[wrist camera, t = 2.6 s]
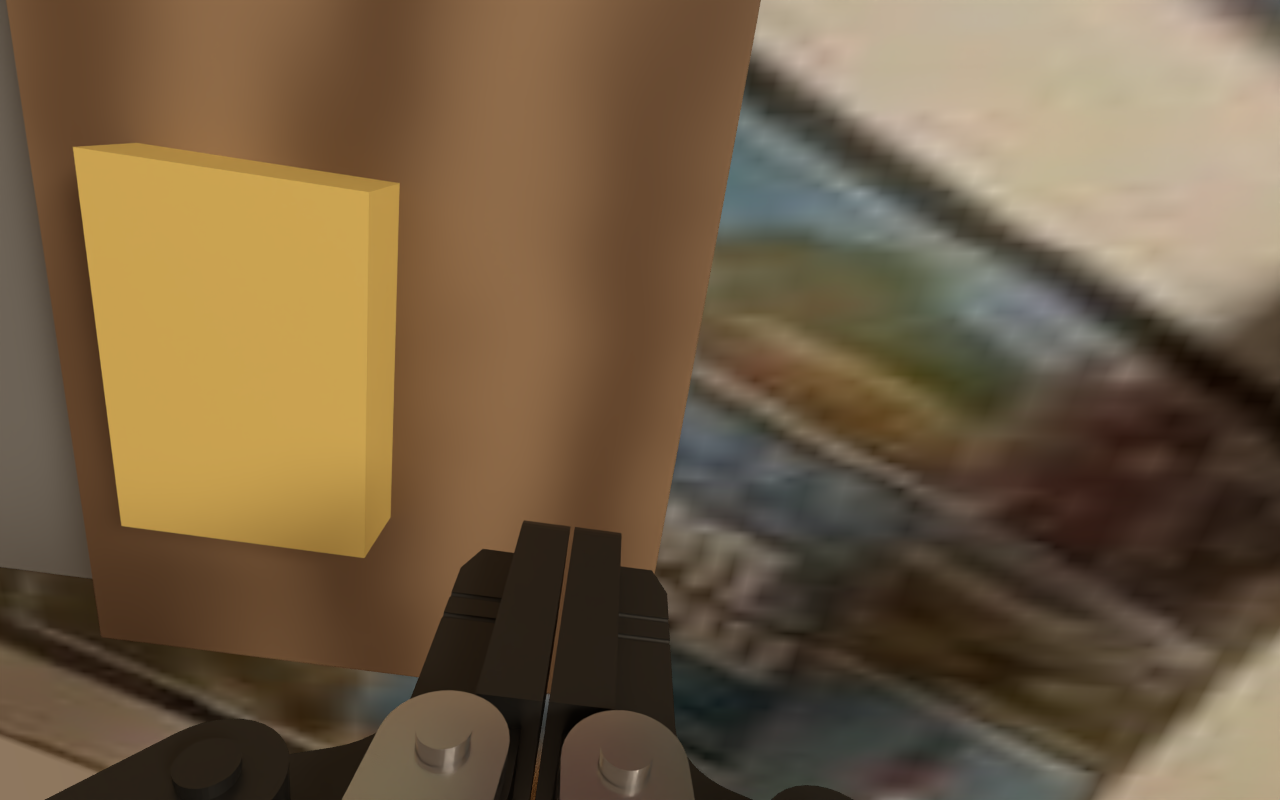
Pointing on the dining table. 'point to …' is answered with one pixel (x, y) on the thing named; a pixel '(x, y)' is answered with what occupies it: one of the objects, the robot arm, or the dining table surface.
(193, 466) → the tile
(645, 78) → the deck
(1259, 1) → the dining table surface
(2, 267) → the mat
